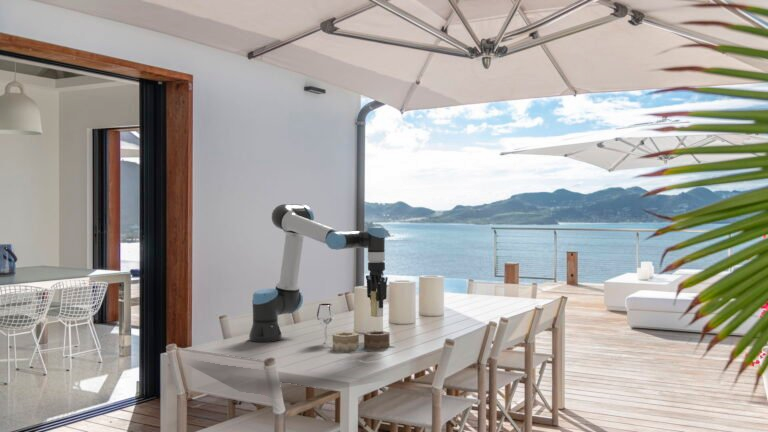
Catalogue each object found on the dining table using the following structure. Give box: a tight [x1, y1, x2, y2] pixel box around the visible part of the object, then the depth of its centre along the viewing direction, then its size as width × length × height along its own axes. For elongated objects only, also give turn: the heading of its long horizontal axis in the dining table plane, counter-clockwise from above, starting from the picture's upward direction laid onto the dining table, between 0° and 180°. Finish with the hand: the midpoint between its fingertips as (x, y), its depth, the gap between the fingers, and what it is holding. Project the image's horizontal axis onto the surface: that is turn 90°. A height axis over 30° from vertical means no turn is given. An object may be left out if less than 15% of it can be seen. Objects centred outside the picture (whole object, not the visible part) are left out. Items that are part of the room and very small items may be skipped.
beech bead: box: [332, 331, 360, 351], centre depth 291 cm, size 11×11×6 cm
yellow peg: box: [370, 290, 384, 318], centre depth 293 cm, size 4×4×11 cm
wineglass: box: [316, 303, 336, 344], centre depth 304 cm, size 8×8×18 cm
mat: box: [327, 341, 395, 355], centre depth 292 cm, size 24×18×1 cm
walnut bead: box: [363, 330, 391, 350], centre depth 293 cm, size 11×11×6 cm
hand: (376, 314), depth 293 cm, fingers closed on yellow peg, 4 cm apart
